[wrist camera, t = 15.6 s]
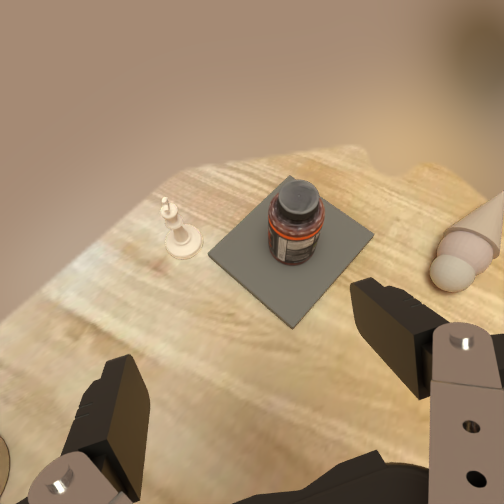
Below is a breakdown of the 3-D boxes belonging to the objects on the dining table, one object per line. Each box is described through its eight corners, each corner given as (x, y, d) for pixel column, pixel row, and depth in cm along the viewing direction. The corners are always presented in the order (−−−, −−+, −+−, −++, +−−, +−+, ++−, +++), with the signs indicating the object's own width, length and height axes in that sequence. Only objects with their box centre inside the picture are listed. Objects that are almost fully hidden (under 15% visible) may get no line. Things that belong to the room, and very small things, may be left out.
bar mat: (292, 329, 40) (293, 327, 40) (208, 256, 45) (207, 253, 44) (372, 237, 45) (374, 234, 44) (289, 179, 49) (289, 175, 48)
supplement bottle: (269, 223, 45) (269, 168, 35) (315, 225, 45) (329, 170, 35) (266, 266, 43) (266, 220, 33) (315, 268, 43) (331, 223, 32)
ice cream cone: (491, 205, 46) (432, 296, 44) (469, 173, 44) (406, 267, 42) (544, 205, 41) (480, 309, 38) (523, 168, 38) (453, 277, 36)
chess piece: (167, 262, 45) (142, 224, 36) (164, 229, 47) (139, 185, 38) (205, 255, 45) (189, 215, 36) (200, 222, 47) (184, 177, 38)
